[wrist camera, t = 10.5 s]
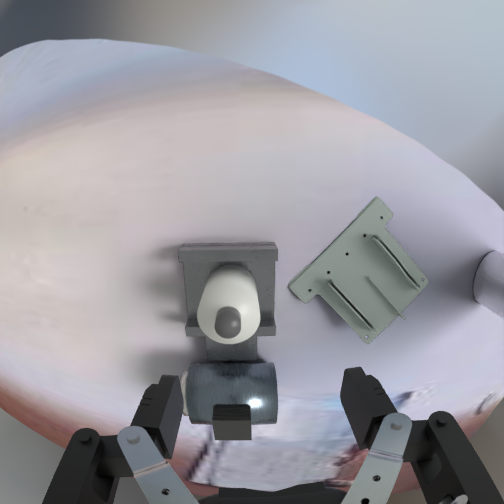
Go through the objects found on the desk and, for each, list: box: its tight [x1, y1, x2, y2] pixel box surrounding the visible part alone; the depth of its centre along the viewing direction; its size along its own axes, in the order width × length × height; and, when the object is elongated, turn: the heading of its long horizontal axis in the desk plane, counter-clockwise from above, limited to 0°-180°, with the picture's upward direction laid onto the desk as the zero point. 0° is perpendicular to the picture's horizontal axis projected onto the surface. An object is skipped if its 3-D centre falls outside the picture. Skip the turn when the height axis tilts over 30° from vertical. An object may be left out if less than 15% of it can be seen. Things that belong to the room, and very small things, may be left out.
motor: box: [178, 242, 278, 440], centre depth 29 cm, size 11×22×10 cm, turn 0°
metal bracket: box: [289, 197, 429, 344], centre depth 32 cm, size 14×6×15 cm
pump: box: [197, 265, 260, 344], centre depth 27 cm, size 6×6×9 cm
